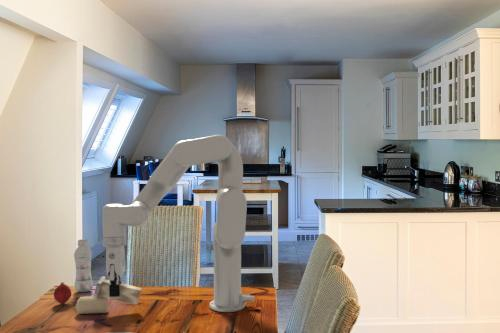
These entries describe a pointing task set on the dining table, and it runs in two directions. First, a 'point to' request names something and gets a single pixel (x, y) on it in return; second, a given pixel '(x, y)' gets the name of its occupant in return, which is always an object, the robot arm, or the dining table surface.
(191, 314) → the dining table surface
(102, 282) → the cream upright plaque
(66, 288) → the onion
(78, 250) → the plastic bottle
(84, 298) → the candle
